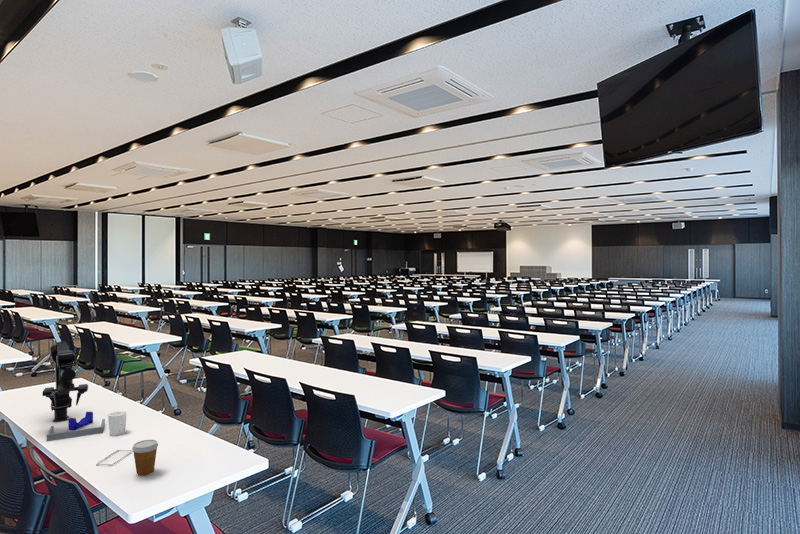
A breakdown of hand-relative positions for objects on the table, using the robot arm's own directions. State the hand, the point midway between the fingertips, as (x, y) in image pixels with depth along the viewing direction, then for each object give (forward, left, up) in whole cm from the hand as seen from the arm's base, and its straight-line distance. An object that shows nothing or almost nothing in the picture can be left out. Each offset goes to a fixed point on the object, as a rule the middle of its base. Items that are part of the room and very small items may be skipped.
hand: (66, 406), depth 243 cm
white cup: (+19, +23, -12) cm, 32 cm away
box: (+8, +5, -12) cm, 15 cm away
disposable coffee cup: (+75, +35, -12) cm, 84 cm away
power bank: (+53, +24, -13) cm, 60 cm away
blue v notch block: (-2, +6, -12) cm, 14 cm away
